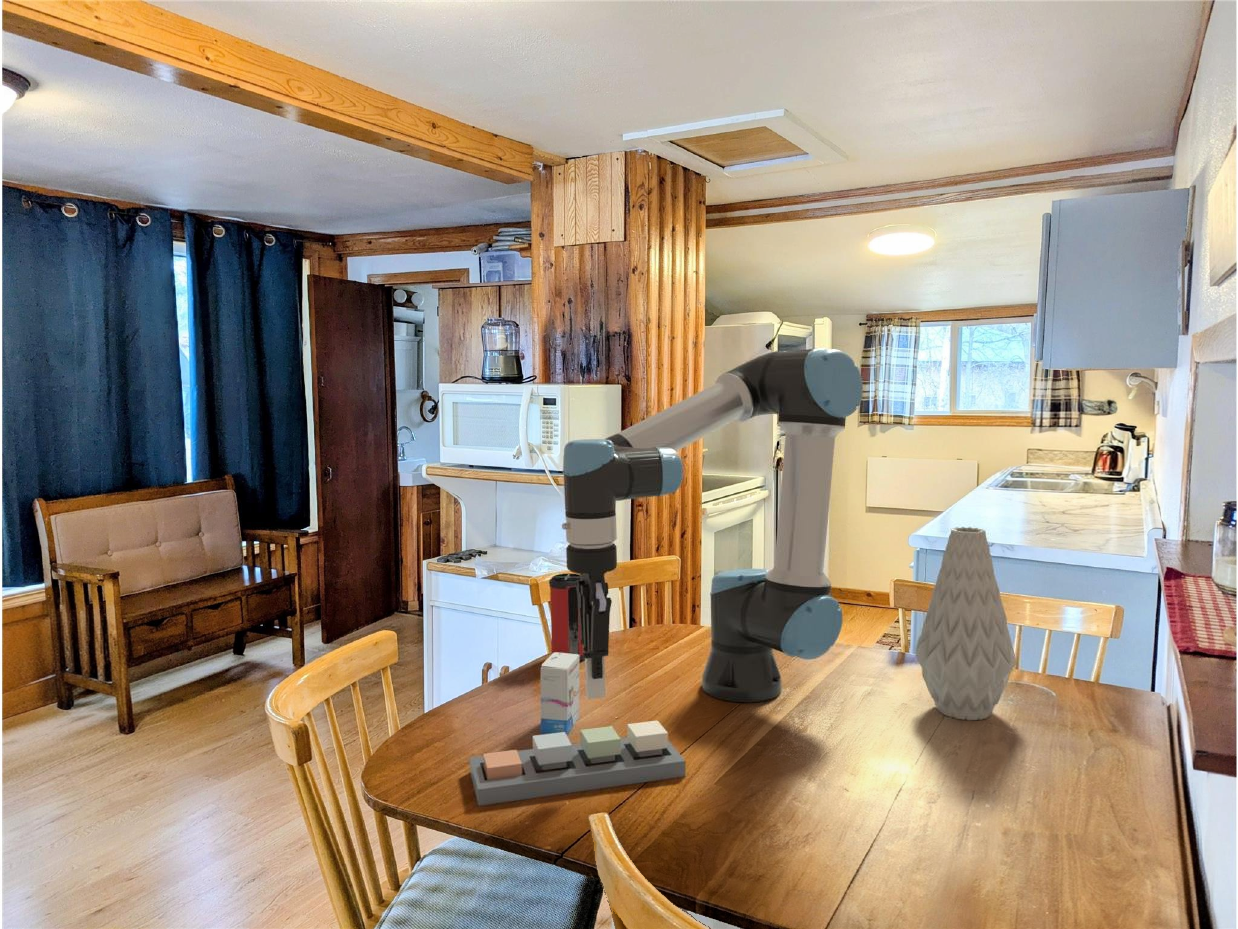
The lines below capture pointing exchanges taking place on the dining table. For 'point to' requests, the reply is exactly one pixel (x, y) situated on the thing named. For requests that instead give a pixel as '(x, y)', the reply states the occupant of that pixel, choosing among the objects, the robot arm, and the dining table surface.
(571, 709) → the ink box
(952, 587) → the vase
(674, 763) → the keypad base
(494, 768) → the key terracotta
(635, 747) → the key cream
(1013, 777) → the dining table surface
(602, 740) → the key sage
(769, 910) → the dining table surface
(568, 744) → the key bluegrey
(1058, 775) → the dining table surface
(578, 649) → the speaker
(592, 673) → the robot arm
